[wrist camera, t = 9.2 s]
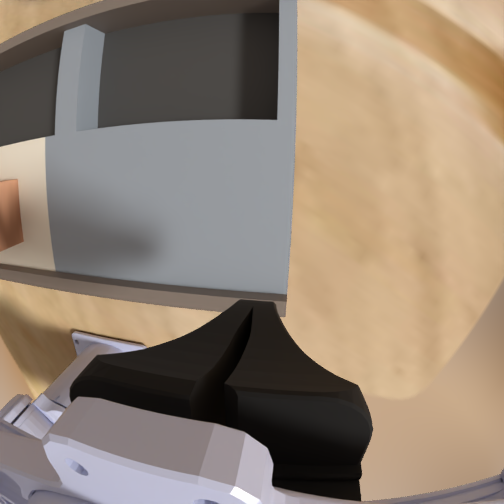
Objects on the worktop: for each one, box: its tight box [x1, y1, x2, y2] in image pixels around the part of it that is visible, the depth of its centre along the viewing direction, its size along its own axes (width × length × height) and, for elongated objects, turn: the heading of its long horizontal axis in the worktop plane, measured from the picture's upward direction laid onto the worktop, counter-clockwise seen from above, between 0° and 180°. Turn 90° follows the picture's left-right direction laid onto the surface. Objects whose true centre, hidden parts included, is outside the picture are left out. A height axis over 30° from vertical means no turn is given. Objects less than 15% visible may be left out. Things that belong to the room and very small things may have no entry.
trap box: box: [0, 0, 297, 317], centre depth 19 cm, size 20×30×4 cm, turn 88°
